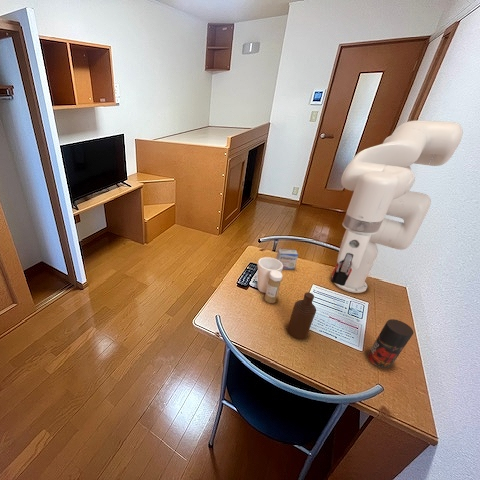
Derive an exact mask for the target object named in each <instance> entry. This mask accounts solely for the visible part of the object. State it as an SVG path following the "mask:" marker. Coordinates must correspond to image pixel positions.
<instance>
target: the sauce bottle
mask: <svg viewBox="0 0 480 480" xmlns="http://www.w3.org/2000/svg"><path fill="white" fill-rule="evenodd" d="M314 299H315V295H314V294H313V293H312V292H308V291H307V292H305V293H304V294H303V298H302V299H299V300H296V301H295V302H294V305H293V308H292V311H291V315H290V318H289V320H288V324H287V327H286V331H287V334H288V335H289V336H291V337H292V338H293V339H296V340H299V341H301V340H305V339H307V337H308V334H309V333H310V332H309V331H310V329H311V326H312V324H313V321H314V319H315V316H316V314H317V307H316V306H315V304H314V303H313V301H314Z"/></svg>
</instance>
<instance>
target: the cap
mask: <svg viewBox="0 0 480 480" xmlns="http://www.w3.org/2000/svg"><path fill="white" fill-rule="evenodd" d="M338 265H339V264H337V263H336V264H335V267H334V268H333V271H332V273H331V276H333V275H334V272H335V270H337V268H338ZM342 266H343V265H341V266H340V267H342ZM351 271H352V269H350V271H349V275H350V273H351ZM348 277H349V276H348ZM347 279H348V278H347Z"/></svg>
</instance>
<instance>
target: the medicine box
mask: <svg viewBox="0 0 480 480" xmlns="http://www.w3.org/2000/svg"><path fill="white" fill-rule="evenodd" d="M298 257H299V253H298V251H297V250H296V249H288V248H286V249H285V248H278V249H277V253H276V257H275V259H277V260H279V261H280V262H281V263H282V264H283V269H282V270H295V268H296V265H297V261H298V259H299V258H298Z"/></svg>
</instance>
